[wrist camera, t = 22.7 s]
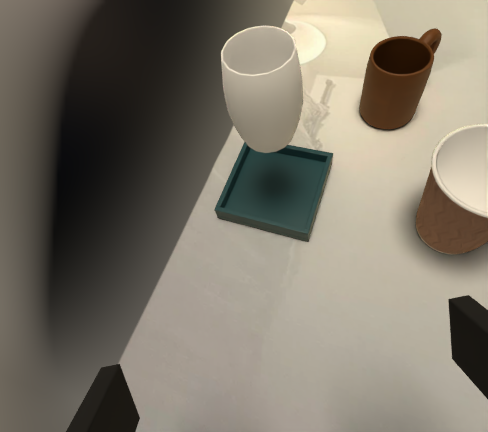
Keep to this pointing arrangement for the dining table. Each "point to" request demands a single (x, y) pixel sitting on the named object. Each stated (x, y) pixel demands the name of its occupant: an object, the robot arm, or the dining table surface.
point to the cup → (263, 86)
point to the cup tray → (276, 190)
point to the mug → (397, 79)
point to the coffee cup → (456, 193)
